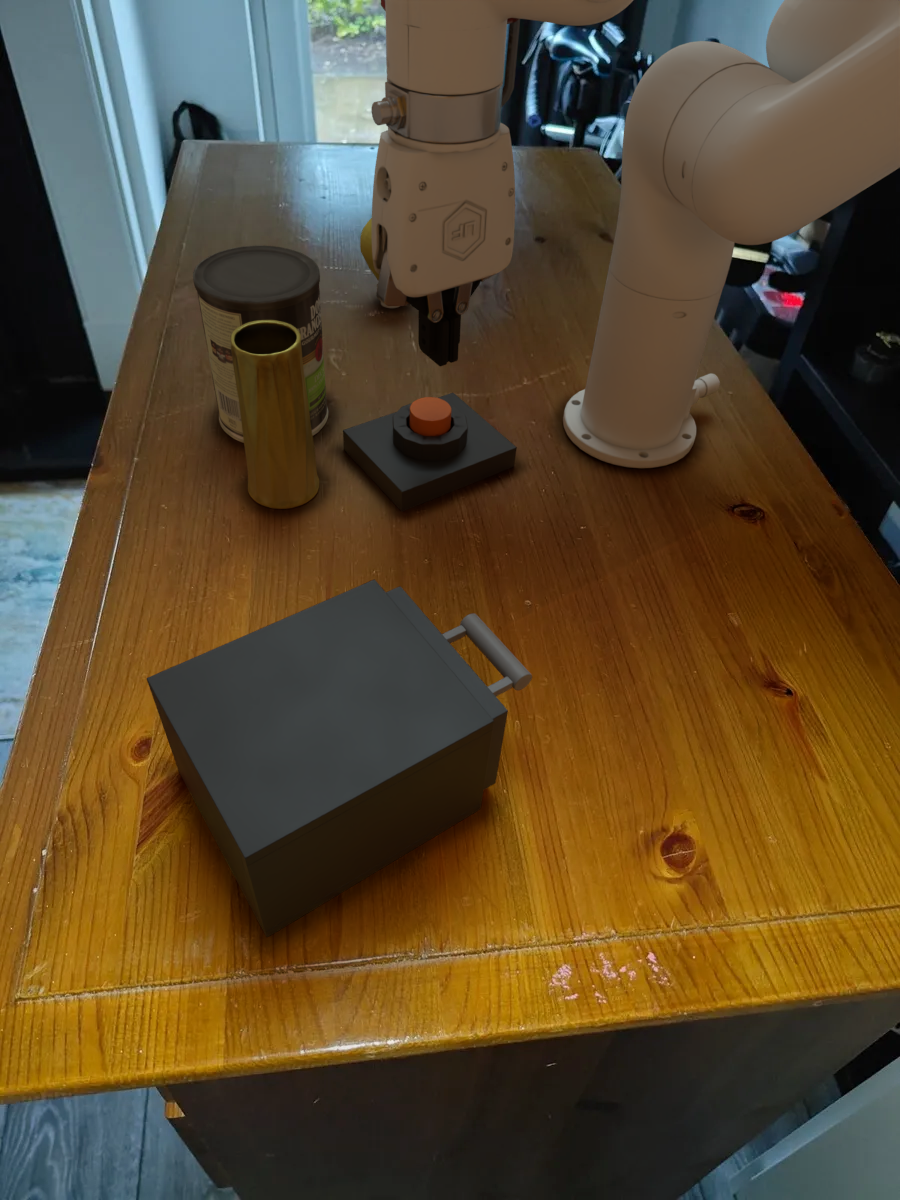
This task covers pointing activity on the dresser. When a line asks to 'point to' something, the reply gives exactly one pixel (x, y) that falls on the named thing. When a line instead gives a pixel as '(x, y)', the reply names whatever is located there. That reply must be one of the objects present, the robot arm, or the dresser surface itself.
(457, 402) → the control block
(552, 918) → the dresser surface
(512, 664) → the drawer
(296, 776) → the dark grey box
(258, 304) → the coffee can
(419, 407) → the button
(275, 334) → the vase
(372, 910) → the dresser surface
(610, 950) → the dresser surface
